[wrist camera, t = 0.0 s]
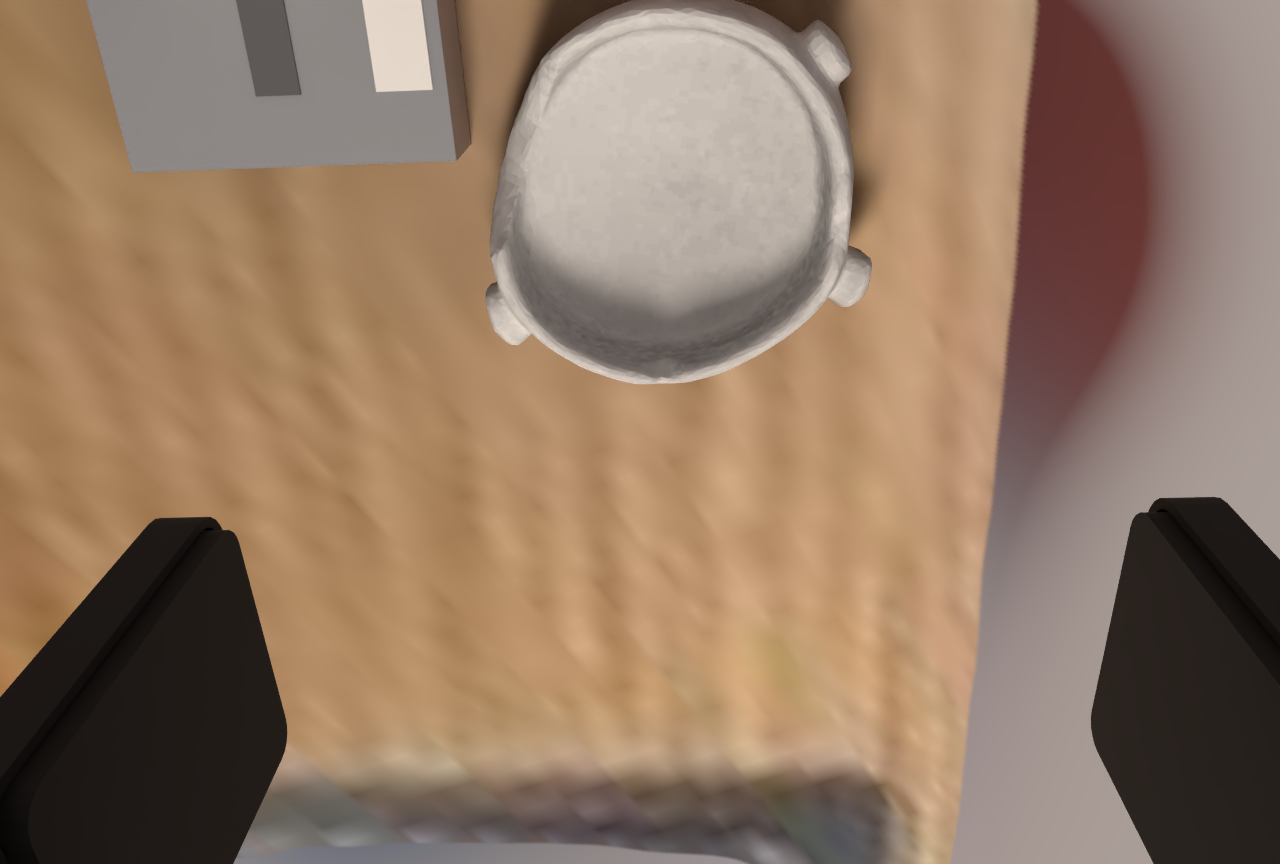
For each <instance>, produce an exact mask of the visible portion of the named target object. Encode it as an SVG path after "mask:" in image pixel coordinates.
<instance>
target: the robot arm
mask: <svg viewBox="0 0 1280 864" xmlns="http://www.w3.org/2000/svg"><path fill="white" fill-rule="evenodd" d="M1091 729H1092V735H1093V740H1094V744H1095V746H1096V749H1097V751H1098V754H1099V756H1100V757H1101V759H1102V761H1103V763H1104V765H1105V767H1106V769H1107V771H1108V773H1109V775H1110V777H1111V779H1112V781H1113V783H1114V785H1115V787H1116V789H1117V791H1118V793H1119V795H1120V797H1121V799H1122V801H1123V803H1124V805H1125V807H1126V809H1127V811H1128V813H1129V815H1130V817H1131V819H1132V821H1133V823H1134V825H1135V827H1136V829H1137V831H1138V833H1139V835H1140V837H1141V839H1142V841H1143V843H1144V845H1145V847H1146V849H1147V851H1148V853H1149V855H1150V857H1151V859H1152V861H1153V863H1154V864H1280V559H1279V558H1278V557H1277V556H1276V555H1275V554H1274V553H1273V552H1272V551H1271V550H1270V549H1269V548H1268V546H1267V545H1265V543H1264V542H1263V541H1262V540H1261V539H1260V538H1259V537H1258V536H1257V535H1256V534H1255V532H1254V531H1253V530H1252V529H1251V528H1250V527H1249V526H1248V525H1247V524H1246V523H1245V522H1244V521H1243V520H1242V519H1241V517H1240V516H1239V515H1238V514H1237V513H1236V512H1235V511H1234V510H1233V509H1232V508H1231V507H1230V506H1229V504H1228V503H1226V502H1225V501H1224V500H1222V499H1221V498H1216V497H1196V498H1159V499H1158V500H1156V501H1154V503H1153V504H1152V506H1151V507H1150V509H1149V512H1147V513H1139V514H1137V515H1136V516H1135V517H1134V519H1133V521H1132V524H1131V527H1130V533H1129V537H1128V541H1127V546H1126V551H1125V556H1124V561H1123V565H1122V570H1121V575H1120V580H1119V584H1118V589H1117V594H1116V598H1115V604H1114V608H1113V613H1112V618H1111V623H1110V627H1109V632H1108V636H1107V641H1106V646H1105V651H1104V656H1103V661H1102V665H1101V670H1100V675H1099V679H1098V684H1097V689H1096V694H1095V699H1094V703H1093V708H1092V714H1091ZM286 742H287V723H286V718H285V714H284V710H283V707H282V703H281V699H280V695H279V692H278V688H277V684H276V680H275V676H274V673H273V669H272V665H271V661H270V658H269V654H268V650H267V646H266V643H265V639H264V635H263V631H262V628H261V624H260V620H259V616H258V612H257V609H256V605H255V601H254V597H253V594H252V590H251V586H250V582H249V579H248V575H247V571H246V567H245V564H244V560H243V556H242V552H241V548H240V545H239V542H238V539H237V537H236V535H235V534H234V533H233V532H232V531H230V530H222V528H221V526H220V524H219V523H218V522H217V521H216V520H215V519H213V518H211V517H188V518H159V519H155V520H153V521H152V522H151V523H150V524H149V525H148V526H147V527H146V528H145V529H144V530H143V532H142V533H141V534H140V535H139V536H138V537H137V539H136V540H135V541H134V542H133V543H132V544H131V546H130V547H129V548H128V549H127V550H126V551H125V553H124V554H123V555H122V556H121V557H120V558H119V559H118V561H117V562H116V563H115V564H114V565H113V566H112V568H111V569H110V570H109V571H108V572H107V573H106V575H105V576H104V577H103V578H102V579H101V580H100V582H99V583H98V584H97V585H96V586H95V587H94V589H93V590H92V591H91V592H90V593H89V594H88V596H87V597H86V598H85V599H84V600H83V601H82V603H81V604H80V605H79V606H78V607H77V608H76V610H75V611H74V612H73V613H72V614H71V615H70V617H69V618H68V619H67V620H66V621H65V622H64V624H63V625H62V626H61V627H60V628H59V629H58V631H57V632H56V633H55V634H54V635H53V636H52V638H51V639H50V640H49V641H48V642H47V643H46V645H45V646H44V647H43V648H42V649H41V650H40V652H39V653H38V654H37V655H36V656H35V657H34V659H33V660H32V661H31V662H30V663H29V664H28V666H27V667H26V668H25V669H24V670H23V671H22V673H21V674H20V675H19V676H18V677H17V678H16V680H15V681H14V682H13V683H12V684H11V685H10V687H9V688H8V689H7V690H6V691H5V692H4V694H3V695H2V696H1V697H0V864H233V863H234V861H235V859H236V857H237V854H238V852H239V850H240V848H241V846H242V844H243V841H244V839H245V837H246V835H247V833H248V831H249V829H250V826H251V824H252V822H253V820H254V818H255V816H256V813H257V811H258V809H259V807H260V805H261V803H262V801H263V798H264V796H265V794H266V792H267V790H268V788H269V785H270V783H271V781H272V779H273V777H274V775H275V773H276V770H277V768H278V766H279V764H280V762H281V760H282V757H283V754H284V752H285V747H286Z"/></svg>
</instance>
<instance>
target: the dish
mask: <svg viewBox="0 0 1280 864" xmlns="http://www.w3.org/2000/svg"><path fill="white" fill-rule="evenodd" d="M851 70H852V66H851V62H850V60H849V58H848V55H847V53H846V50H845V48H844V46H843V44H842V42H841V40H840V39H839V37H838V35H837V34H836V33H835V32H833V31H832V30H831V29H830V28H829V27H828V26H827V25H826V24H824V23H823V22H822V21H820V20H815V21H813V22H812V23H811V24H810V25H809V26H808V27H807V28H806V29H804V30H803V31H802V32H795V31H794V30H792V29H791V28H790V27H788V26H787V25H785V24H784V23H782V22H781V21H779V20H778V19H776V18H775V17H773V16H771V15H769V14H767V13H765V12H763V11H762V10H760V9H758V8H755V7H753V6H750V5H748V4H745V3H741V2H738V1H735V0H631V1H628V2H626V3H623V4H620V5H617V6H615V7H612V8H609V9H607V10H605V11H603V12H601V13H599V14H597V15H595V16H593V17H591V18H589V19H587V20H586V21H584V22H583V23H581V24H580V25H578V26H577V27H575V28H574V29H573V30H571V31H570V32H569V33H567V34H566V35H565V36H564V37H562V38H561V39H560V40H559V41H558V42H557V43H556V44H555V45H554V46H553V47H552V48H551V49H550V50H549V51H548V52H547V53H546V54H545V56H544V57H543V58H542V60H541V62H540V64H539V65H538V67H537V69H536V71H535V72H534V74H533V76H532V78H531V81H530V84H529V86H528V89H527V91H526V93H525V95H524V98H523V101H522V104H521V106H520V109H519V111H518V114H517V116H516V119H515V121H514V124H513V127H512V130H511V133H510V136H509V139H508V143H507V147H506V151H505V155H504V159H503V162H502V166H501V170H500V174H499V180H498V187H497V192H496V196H495V201H494V209H493V219H492V226H491V234H490V254H491V260H492V266H493V271H494V274H495V277H496V280H497V282H496V283H493V284H491V285H490V286H489V287H488V288H487V291H486V305H487V312H488V314H489V317H490V320H491V324H492V326H493V329H494V331H495V332H496V333H497V334H498V335H499V336H501V337H502V338H503V339H504V340H505V341H506V342H508V343H509V344H513V345H519V344H520V343H522V342H523V341H524V340H526V339H527V338H528V337H529V336H530V335H531V334H533V335H534V336H535V337H536V338H538V339H539V340H540V341H541V342H542V343H543V344H544V345H546V346H547V347H549V348H550V349H552V350H553V351H555V352H556V353H558V354H559V355H561V356H563V357H564V358H566V359H568V360H569V361H571V362H573V363H574V364H576V365H578V366H580V367H582V368H584V369H587V370H589V371H592V372H595V373H598V374H600V375H603V376H606V377H609V378H612V379H616V380H620V381H623V382H628V383H634V384H659V383H682V382H691V381H695V380H699V379H703V378H706V377H710V376H713V375H716V374H719V373H722V372H725V371H727V370H730V369H732V368H734V367H736V366H738V365H740V364H742V363H744V362H746V361H748V360H750V359H752V358H754V357H756V356H757V355H759V354H761V353H762V352H764V351H766V350H767V349H769V348H771V347H772V346H774V345H776V344H777V343H779V342H780V341H782V340H783V339H785V338H786V337H787V336H789V335H790V334H791V333H793V332H794V331H795V330H796V329H798V328H799V327H800V326H801V325H802V324H804V323H805V322H806V321H807V320H808V319H809V318H810V317H811V316H813V315H814V314H815V313H816V311H817V310H818V309H819V308H820V307H821V306H822V305H823V303H824V302H825V301H826V299H827V298H829V299H830V300H831V301H833V302H834V303H836V304H837V305H839V306H842V307H849V306H851V305H853V304H854V303H856V302H858V301H859V300H860V299H861V297H862V296H863V295H864V294H865V292H866V290H867V288H868V286H869V281H870V275H871V270H872V263H871V259H870V258H869V257H868V256H867V255H865V254H864V253H863V252H862V251H861V250H859V249H857V248H854V247H851V246H848V243H849V232H850V220H851V209H852V195H853V181H854V161H853V150H852V142H851V136H850V131H849V125H848V121H847V117H846V113H845V109H844V105H843V102H842V98H841V95H840V92H839V85H840V83H841V82H842V81H843V80H844V79H845V78H846V77H847V76H848V75H849V74H850V72H851Z"/></svg>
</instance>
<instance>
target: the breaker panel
mask: <svg viewBox="0 0 1280 864" xmlns="http://www.w3.org/2000/svg"><path fill="white" fill-rule="evenodd" d="M86 1H87V5H88V8H89V12H90V16H91V20H92V23H93V27H94V31H95V35H96V38H97V42H98V46H99V49H100V53H101V57H102V61H103V64H104V68H105V72H106V76H107V79H108V83H109V87H110V90H111V94H112V98H113V102H114V105H115V109H116V113H117V116H118V120H119V124H120V128H121V131H122V135H123V139H124V143H125V146H126V150H127V154H128V157H129V161H130V165H131V169H132V172H161V171H189V170H217V169H245V168H273V167H301V166H329V165H357V164H385V163H413V162H441V161H457V160H458V158H459V157H460V156H461V155H462V154H463V153H464V152H465V150H466V149H467V148H468V147H469V146H470V145H471V138H470V129H469V121H468V112H467V104H466V95H465V86H464V78H463V69H462V60H461V52H460V43H459V34H458V26H457V17H456V8H455V0H86Z"/></svg>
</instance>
